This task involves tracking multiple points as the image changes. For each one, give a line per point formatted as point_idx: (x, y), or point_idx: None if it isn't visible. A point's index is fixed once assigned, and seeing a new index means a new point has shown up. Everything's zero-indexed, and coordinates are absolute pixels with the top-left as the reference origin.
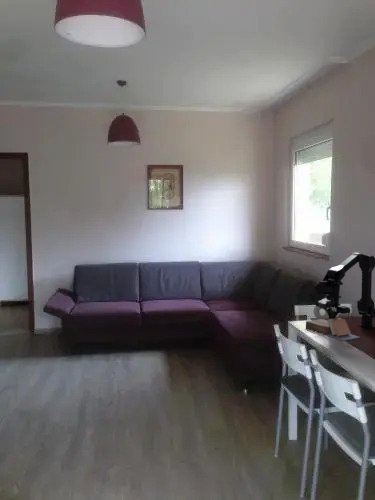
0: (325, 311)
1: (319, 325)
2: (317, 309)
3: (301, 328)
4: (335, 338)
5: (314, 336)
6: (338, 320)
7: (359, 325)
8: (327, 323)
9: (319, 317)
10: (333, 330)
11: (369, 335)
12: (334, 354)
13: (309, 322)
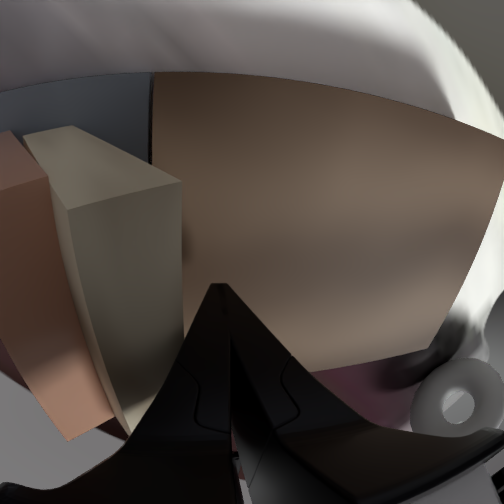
0: (444, 420)
1: (315, 84)
2: (488, 396)
3: (474, 91)
4: (4, 91)
5: None
6: (3, 339)
7: (236, 456)
8: (312, 290)
9: (453, 369)
10: (41, 142)
11: None
12: None
13: (480, 130)
